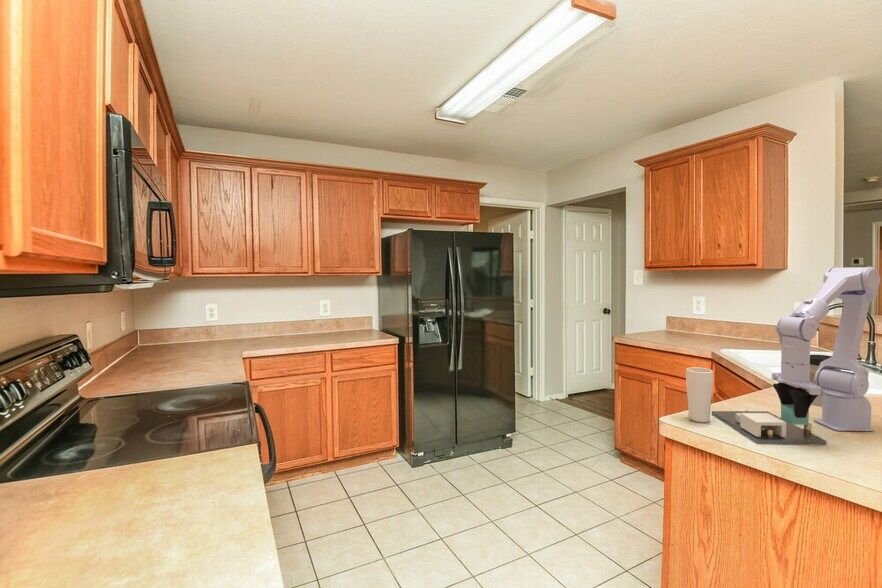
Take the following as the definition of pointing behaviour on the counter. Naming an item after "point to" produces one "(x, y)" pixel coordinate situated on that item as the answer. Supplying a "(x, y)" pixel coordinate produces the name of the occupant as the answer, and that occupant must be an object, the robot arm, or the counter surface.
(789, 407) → the block
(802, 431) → the base plate
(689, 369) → the drinking glass
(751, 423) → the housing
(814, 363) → the coffee cup
